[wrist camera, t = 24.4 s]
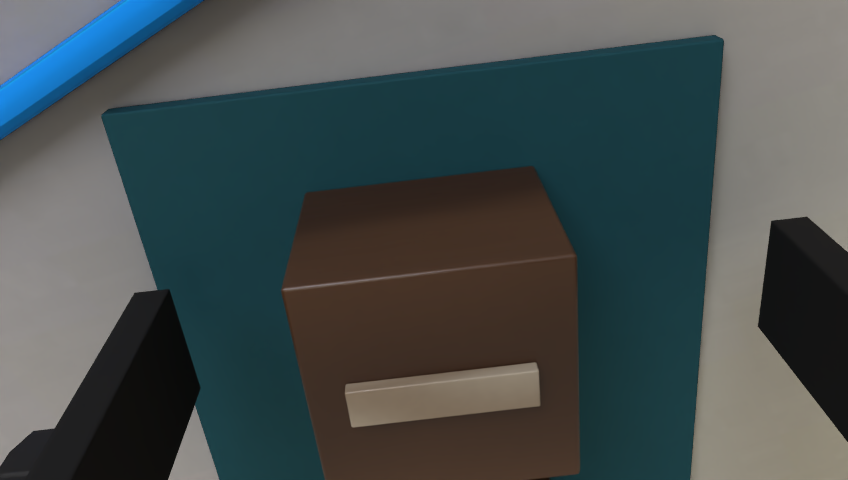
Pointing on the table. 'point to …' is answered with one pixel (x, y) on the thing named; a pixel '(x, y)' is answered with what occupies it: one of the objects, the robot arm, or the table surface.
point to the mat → (427, 158)
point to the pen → (83, 57)
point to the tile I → (437, 329)
